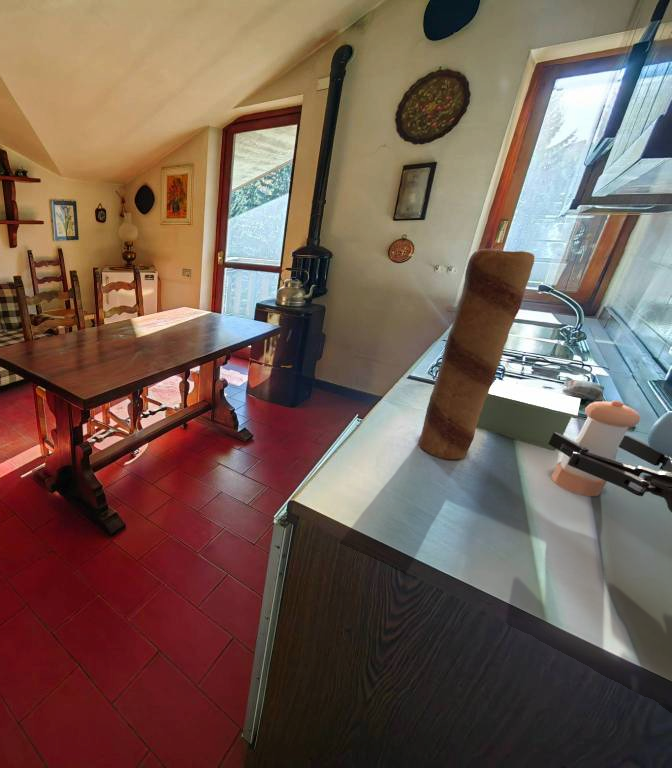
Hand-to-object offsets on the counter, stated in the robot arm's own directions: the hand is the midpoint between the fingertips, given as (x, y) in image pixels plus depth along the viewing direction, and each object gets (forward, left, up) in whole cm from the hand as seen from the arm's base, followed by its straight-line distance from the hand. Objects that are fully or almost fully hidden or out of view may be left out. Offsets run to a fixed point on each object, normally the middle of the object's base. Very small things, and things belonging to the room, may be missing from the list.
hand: (587, 439), depth 78 cm
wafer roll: (+22, +6, -10) cm, 25 cm away
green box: (+11, -21, -10) cm, 25 cm away
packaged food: (+1, -64, -10) cm, 65 cm away
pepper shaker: (-1, +1, -10) cm, 10 cm away
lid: (+10, -21, -1) cm, 23 cm away
